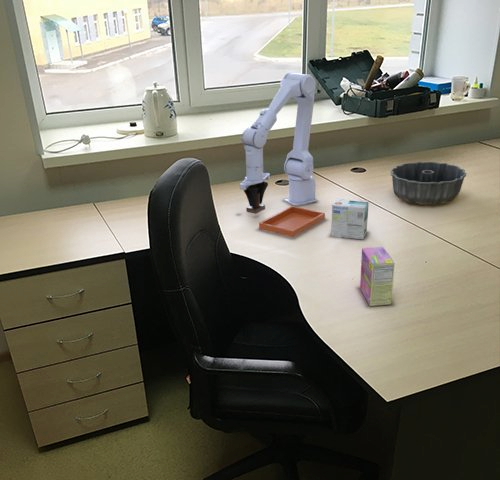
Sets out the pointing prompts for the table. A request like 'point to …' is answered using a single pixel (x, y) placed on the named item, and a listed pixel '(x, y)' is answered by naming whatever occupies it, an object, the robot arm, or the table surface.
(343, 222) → the light bulb box
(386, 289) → the box
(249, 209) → the stamp
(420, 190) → the bundt pan
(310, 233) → the table surface
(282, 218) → the tray
